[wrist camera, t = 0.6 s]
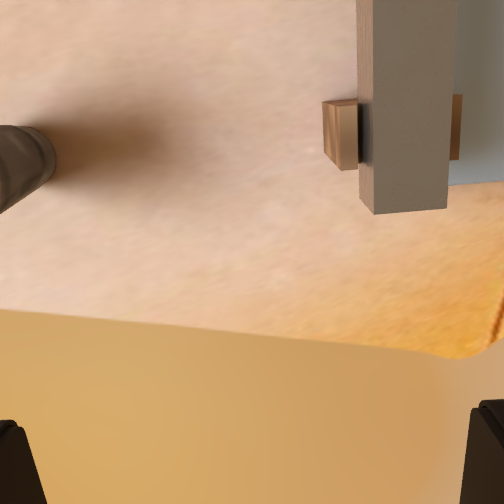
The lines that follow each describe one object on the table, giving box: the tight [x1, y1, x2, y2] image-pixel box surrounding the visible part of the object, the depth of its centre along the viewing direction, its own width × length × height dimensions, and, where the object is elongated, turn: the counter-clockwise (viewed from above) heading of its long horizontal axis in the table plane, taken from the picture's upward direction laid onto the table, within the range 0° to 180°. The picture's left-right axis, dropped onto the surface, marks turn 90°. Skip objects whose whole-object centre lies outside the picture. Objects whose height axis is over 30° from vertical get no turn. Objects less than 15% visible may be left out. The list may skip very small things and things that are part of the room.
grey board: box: [448, 0, 504, 186], centre depth 30 cm, size 24×7×1 cm, turn 6°
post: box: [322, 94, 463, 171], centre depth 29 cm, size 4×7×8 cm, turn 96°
